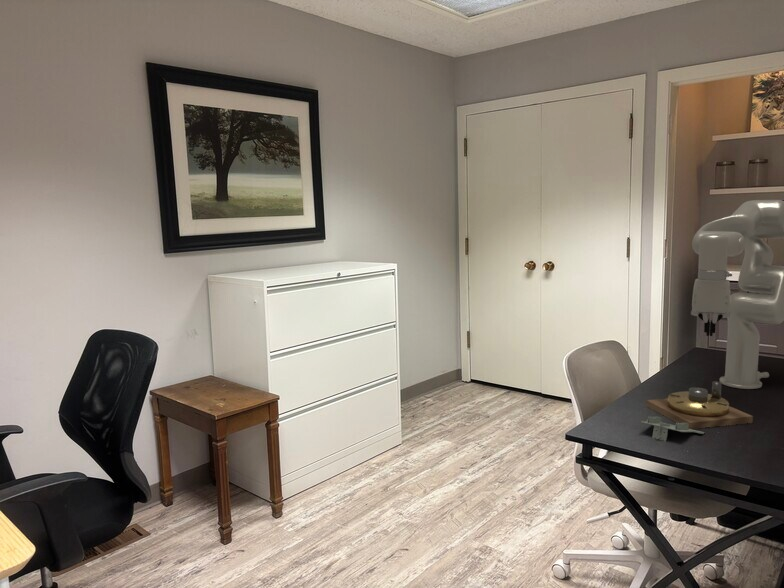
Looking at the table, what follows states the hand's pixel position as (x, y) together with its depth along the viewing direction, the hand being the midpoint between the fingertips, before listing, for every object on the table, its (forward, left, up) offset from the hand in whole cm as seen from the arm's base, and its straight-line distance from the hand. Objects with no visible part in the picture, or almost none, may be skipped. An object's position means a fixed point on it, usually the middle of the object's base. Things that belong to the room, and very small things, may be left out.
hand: (709, 335), depth 182 cm
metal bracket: (+25, +17, -23) cm, 38 cm away
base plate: (+8, +6, -22) cm, 24 cm away
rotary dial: (+8, +6, -20) cm, 22 cm away
